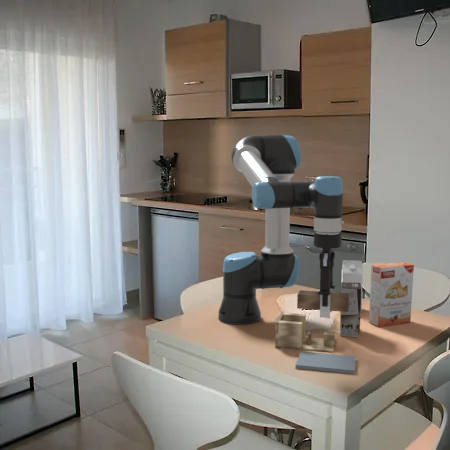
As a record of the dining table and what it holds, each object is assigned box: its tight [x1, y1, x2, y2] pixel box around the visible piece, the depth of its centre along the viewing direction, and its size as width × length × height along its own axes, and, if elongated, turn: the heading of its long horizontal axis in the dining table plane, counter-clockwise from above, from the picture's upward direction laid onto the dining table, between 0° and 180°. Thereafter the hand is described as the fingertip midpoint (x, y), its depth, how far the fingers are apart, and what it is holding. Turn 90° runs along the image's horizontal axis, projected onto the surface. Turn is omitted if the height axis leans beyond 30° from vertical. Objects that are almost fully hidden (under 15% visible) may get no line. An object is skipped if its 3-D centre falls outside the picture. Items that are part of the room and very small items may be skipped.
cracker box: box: [368, 261, 415, 328], centre depth 204 cm, size 14×6×21 cm, turn 114°
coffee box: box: [339, 282, 362, 338], centre depth 194 cm, size 9×6×16 cm
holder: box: [274, 311, 336, 353], centre depth 184 cm, size 18×11×8 cm, turn 75°
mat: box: [295, 350, 357, 375], centre depth 168 cm, size 16×11×1 cm
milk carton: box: [340, 259, 364, 310], centre depth 219 cm, size 7×7×19 cm
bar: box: [296, 289, 350, 313], centre depth 166 cm, size 14×5×4 cm, turn 75°
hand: (325, 314), depth 166 cm, fingers closed on bar, 5 cm apart
